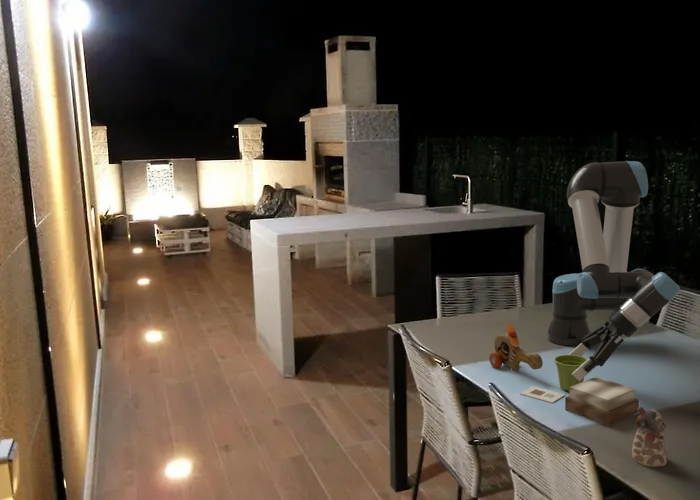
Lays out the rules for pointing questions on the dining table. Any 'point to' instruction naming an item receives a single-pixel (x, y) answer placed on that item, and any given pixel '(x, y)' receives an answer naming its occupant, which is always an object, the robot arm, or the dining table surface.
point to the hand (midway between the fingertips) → (571, 369)
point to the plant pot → (568, 370)
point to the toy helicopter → (512, 352)
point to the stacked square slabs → (602, 401)
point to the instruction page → (542, 394)
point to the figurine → (649, 439)
